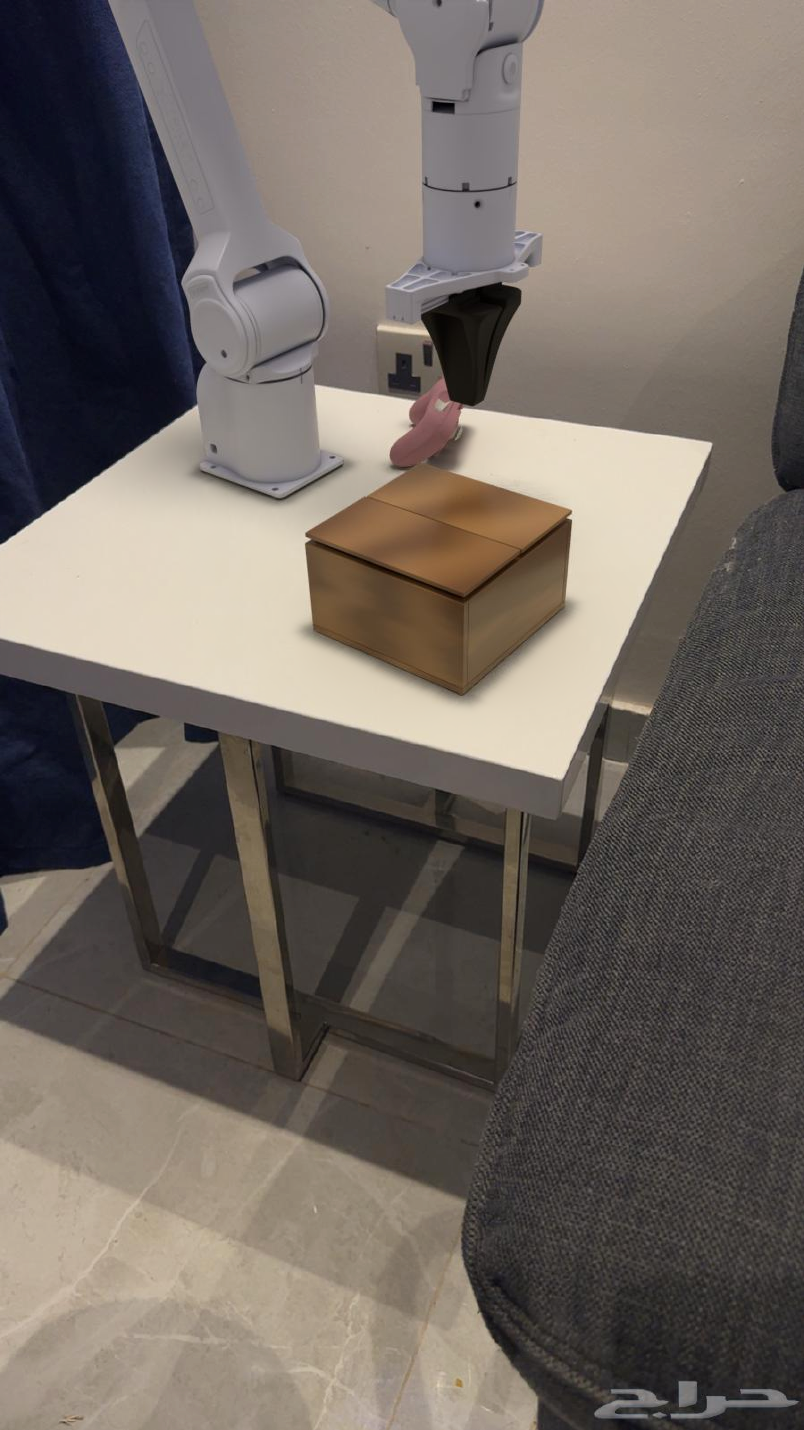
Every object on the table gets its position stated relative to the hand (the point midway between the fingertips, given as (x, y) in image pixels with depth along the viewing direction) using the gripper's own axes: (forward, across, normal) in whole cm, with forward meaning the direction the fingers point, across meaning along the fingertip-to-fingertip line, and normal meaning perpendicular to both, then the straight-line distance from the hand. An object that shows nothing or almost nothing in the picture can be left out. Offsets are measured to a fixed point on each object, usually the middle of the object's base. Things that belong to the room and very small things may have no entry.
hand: (466, 400), depth 70 cm
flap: (+4, -7, -5) cm, 9 cm away
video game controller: (+11, +11, +11) cm, 19 cm away
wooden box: (+10, -10, -5) cm, 15 cm away
